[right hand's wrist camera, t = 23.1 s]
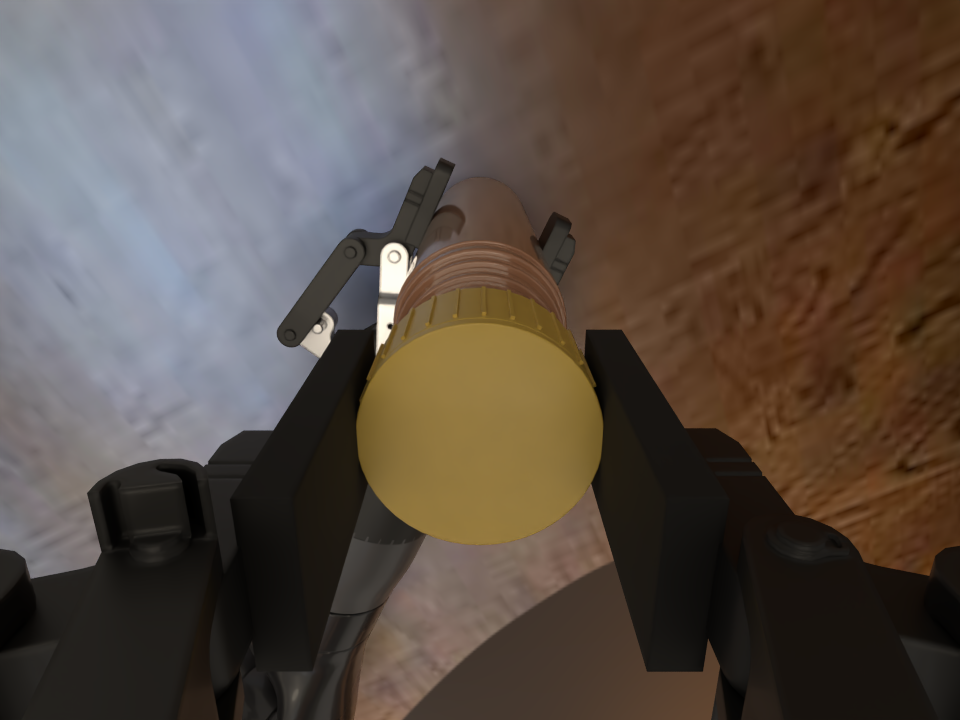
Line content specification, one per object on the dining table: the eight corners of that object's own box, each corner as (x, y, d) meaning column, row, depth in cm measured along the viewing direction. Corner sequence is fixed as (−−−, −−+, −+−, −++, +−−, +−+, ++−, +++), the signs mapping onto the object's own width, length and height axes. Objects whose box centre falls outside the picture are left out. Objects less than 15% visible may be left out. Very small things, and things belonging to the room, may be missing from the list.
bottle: (494, 158, 34) (520, 251, 12) (542, 238, 35) (649, 455, 13) (415, 210, 35) (303, 388, 13) (466, 286, 36) (445, 565, 14)
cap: (521, 242, 13) (530, 270, 11) (623, 423, 15) (650, 481, 12) (330, 353, 14) (301, 400, 12) (444, 513, 16) (438, 583, 13)
